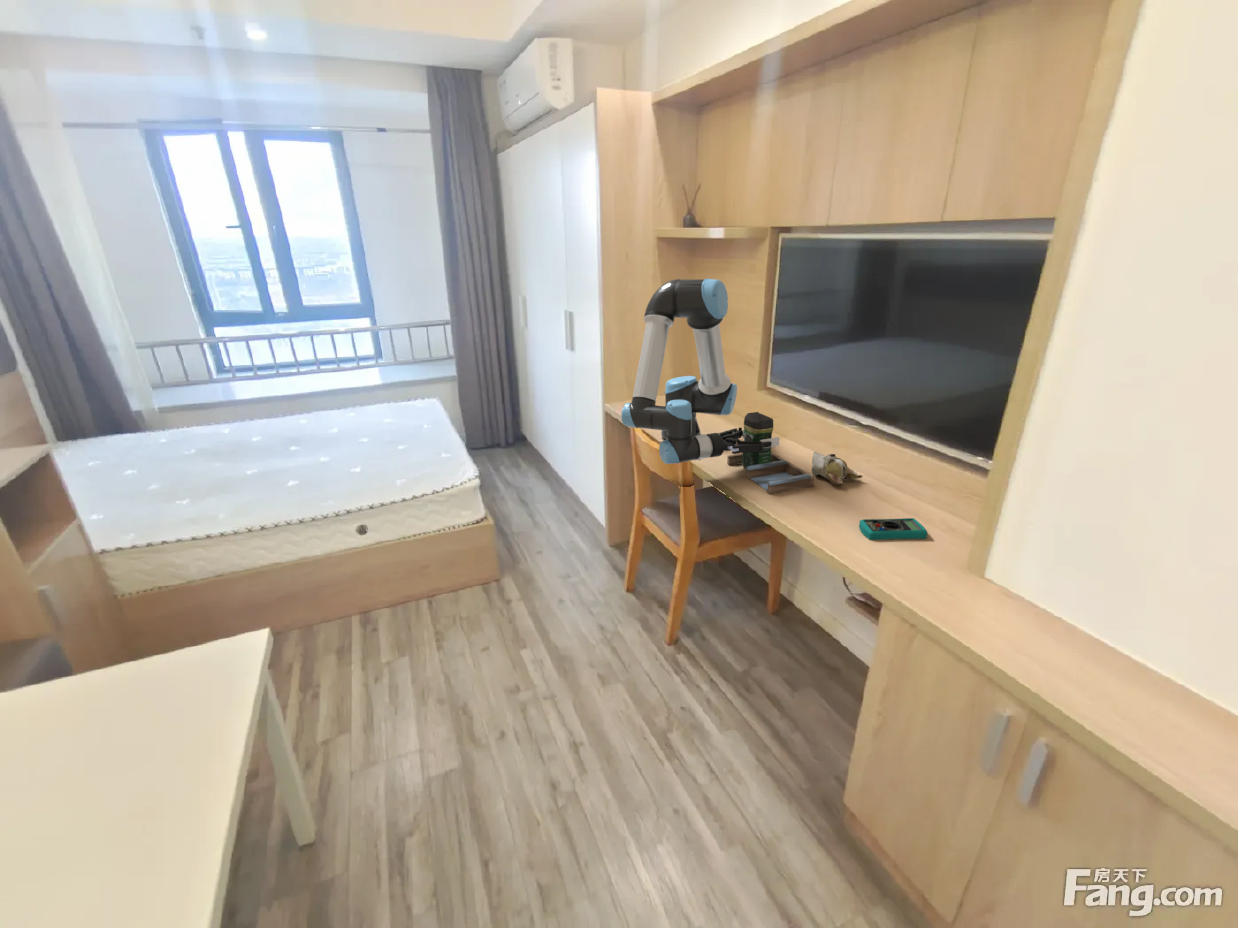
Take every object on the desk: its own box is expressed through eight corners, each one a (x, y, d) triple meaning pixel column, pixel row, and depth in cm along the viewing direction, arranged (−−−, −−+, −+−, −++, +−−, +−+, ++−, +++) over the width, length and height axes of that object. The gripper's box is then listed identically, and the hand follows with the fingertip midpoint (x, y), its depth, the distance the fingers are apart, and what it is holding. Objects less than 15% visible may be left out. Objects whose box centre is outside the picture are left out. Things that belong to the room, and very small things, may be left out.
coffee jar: (774, 471, 181) (778, 416, 174) (753, 475, 179) (756, 420, 172) (758, 461, 190) (761, 408, 183) (737, 464, 187) (740, 412, 180)
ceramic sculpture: (825, 443, 179) (867, 458, 167) (821, 467, 182) (862, 484, 171) (803, 450, 173) (845, 467, 162) (800, 475, 177) (840, 493, 166)
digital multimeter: (856, 527, 146) (857, 517, 145) (914, 526, 145) (915, 516, 144) (866, 541, 139) (868, 531, 138) (927, 540, 138) (929, 530, 137)
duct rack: (727, 464, 188) (727, 453, 187) (766, 457, 193) (767, 447, 191) (770, 494, 165) (770, 483, 164) (813, 486, 169) (814, 474, 168)
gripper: (692, 445, 187) (750, 436, 193) (724, 469, 167) (788, 458, 173) (692, 424, 184) (751, 416, 190) (725, 446, 164) (790, 435, 170)
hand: (769, 436), depth 181 cm, fingers open, 10 cm apart
